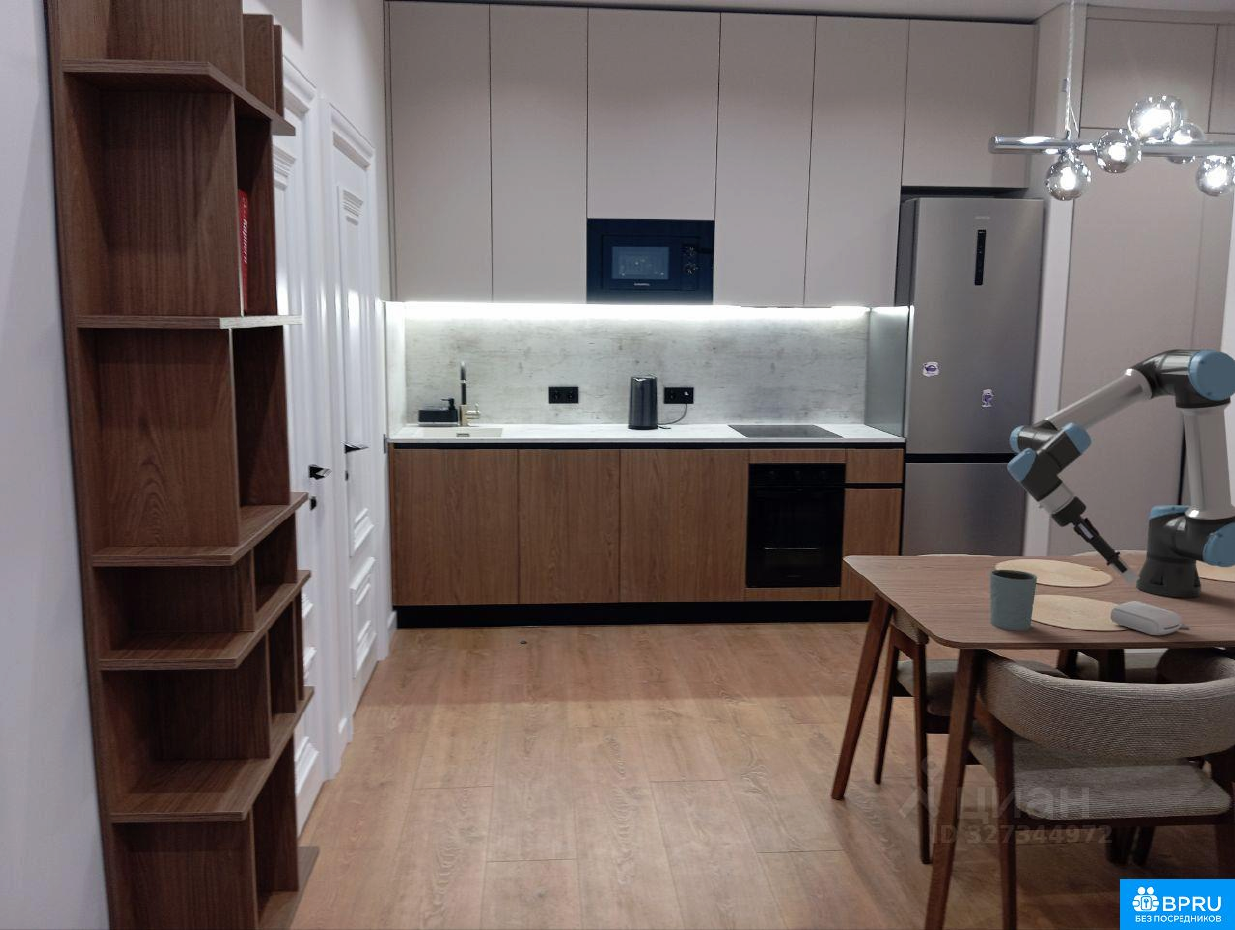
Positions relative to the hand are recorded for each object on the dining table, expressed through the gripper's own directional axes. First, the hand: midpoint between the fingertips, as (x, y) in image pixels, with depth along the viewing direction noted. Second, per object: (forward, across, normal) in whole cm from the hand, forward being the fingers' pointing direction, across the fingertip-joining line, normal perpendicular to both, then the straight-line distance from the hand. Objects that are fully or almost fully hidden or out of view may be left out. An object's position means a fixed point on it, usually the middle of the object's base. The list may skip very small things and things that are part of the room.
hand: (1134, 580), depth 229 cm
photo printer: (+3, +1, -7) cm, 8 cm away
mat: (+10, -4, -4) cm, 11 cm away
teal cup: (-12, +15, -26) cm, 32 cm away
